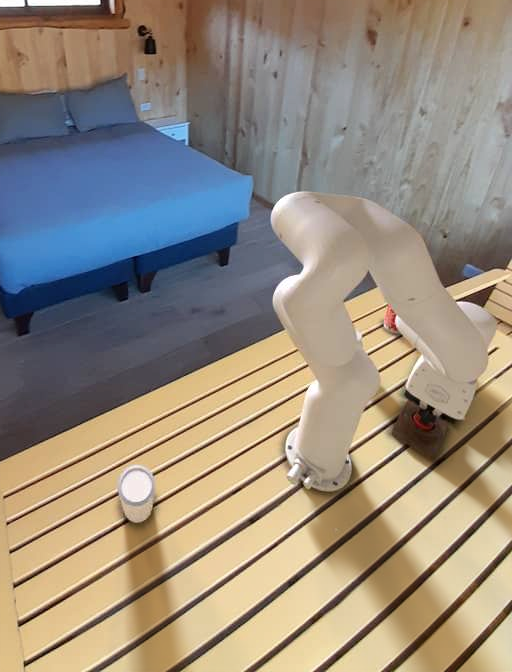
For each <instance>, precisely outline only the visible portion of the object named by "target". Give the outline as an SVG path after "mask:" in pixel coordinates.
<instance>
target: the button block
mask: <svg viewBox="0 0 512 672" xmlns="http://www.w3.org/2000/svg"><path fill="white" fill-rule="evenodd" d="M419 410H420V404H418V403H416V402H414V401H413V400H411V399H409V398H407V400H406V402H405V403H404V406H403V408H402V409H401V412H400V414H399V416H398V418H397V420H396V421H395V425H394V426H393V428H392V430H391V432H390V433H391V435H392V436H393V437H395V438H396V439H398V440H400V441H401V442H402V443H404V444H406V445H407V446H409V447H410V448H412V449H413V450H415V451H416V452H418V453H420V454H421V455H423V456H424V457H426V458H427V459H429V460H430V461H432V462H435V459H436V458H437V455H438V453H439V450H440V447H441V445H442V441H443V439H444V437H445V434H446V431H447V428H448V425H449V421H447V420H445V419H444V418H442V417H440V416H439V417H436V420H435V422H434V425H433V428H432V430H430V431H428V430H424V429H422V428H420V427H419V426H417V425H416V424H415V422H414V421H413V419H412V418H413V416H414V414H415V413H417V412H419ZM429 411H430V410H429ZM429 411H428V413H429ZM428 413H427V415H428Z"/></svg>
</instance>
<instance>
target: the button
mask: <svg viewBox="0 0 512 672" xmlns="http://www.w3.org/2000/svg"><path fill="white" fill-rule="evenodd" d="M426 417H427V415H426ZM420 418H421V416H420V415H418V412H417V413H415V414H414V416H413V418H412V419H413V421H414V422H415V424H416V425H417V426H419V427H420V428H422V429H424V430H428V431H430V430H432V428H433V425H434V424H433V423H432V422H429V424H428V426H425V424H424V422H425V420H426V418H425V420H424V422H423V423H420V422H419V420H420Z"/></svg>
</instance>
